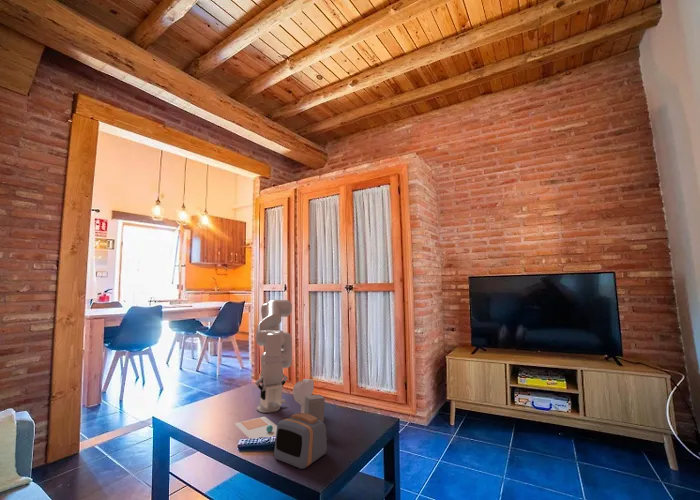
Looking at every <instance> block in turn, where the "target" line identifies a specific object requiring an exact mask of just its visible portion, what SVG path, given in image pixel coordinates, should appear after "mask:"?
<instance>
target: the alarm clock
mask: <svg viewBox="0 0 700 500" xmlns="http://www.w3.org/2000/svg"><path fill="white" fill-rule="evenodd" d="M276 425H277V431H276V438H275V443H274V449H273V451H274V452H273V453H274V458H275V459H276V460H278V461H279V462H280V461H281V462H282V463H285V464H288V465H290V466H293V467H296V468H297V469H300V470H304V469H306V468H308V467H309V466H310V465H312V464H313V463H314V462H316V461H317V460H319V459H320V458H321V457H322V456H324V455H326V453H327V449H328V448H327V447H328V445H327V427H326V423H325V422H324V423H323V422H322V421H320V420H318V419H317V418H316V417H314V416H312V415H310V414H306V413H301V412H297V413H295V414H291V416H290V417H287V418H284V419H280V421H279V422H277V424H276Z"/></svg>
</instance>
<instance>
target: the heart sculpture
mask: <svg viewBox="0 0 700 500" xmlns="http://www.w3.org/2000/svg"><path fill="white" fill-rule="evenodd" d="M314 387H315V380H314V379H311V378H303V379H302V380H299V381H297V382H296V383H295V384H294V385H293V390H292V396H293V399H294V401H295V402H296V403H298V404H299V405H300V413H304V408H305V396H311V395H313V392H314Z"/></svg>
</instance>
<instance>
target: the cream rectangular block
mask: <svg viewBox="0 0 700 500" xmlns="http://www.w3.org/2000/svg"><path fill="white" fill-rule="evenodd" d="M260 385H262V384H261V383H260ZM265 392H266V393H265V400H263V399H261V397H259V399H260V400H259V401H260V402H259V405H260V404H261V405H262V406H264V407H265V408H267V409H268V402H272V401H274V402H276V403H277V404H279V405H280V406H282V405H283V403H282V400H283V387H282V385H281V384H279V383H277V384H272V385H267V387H266V388H265Z"/></svg>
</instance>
